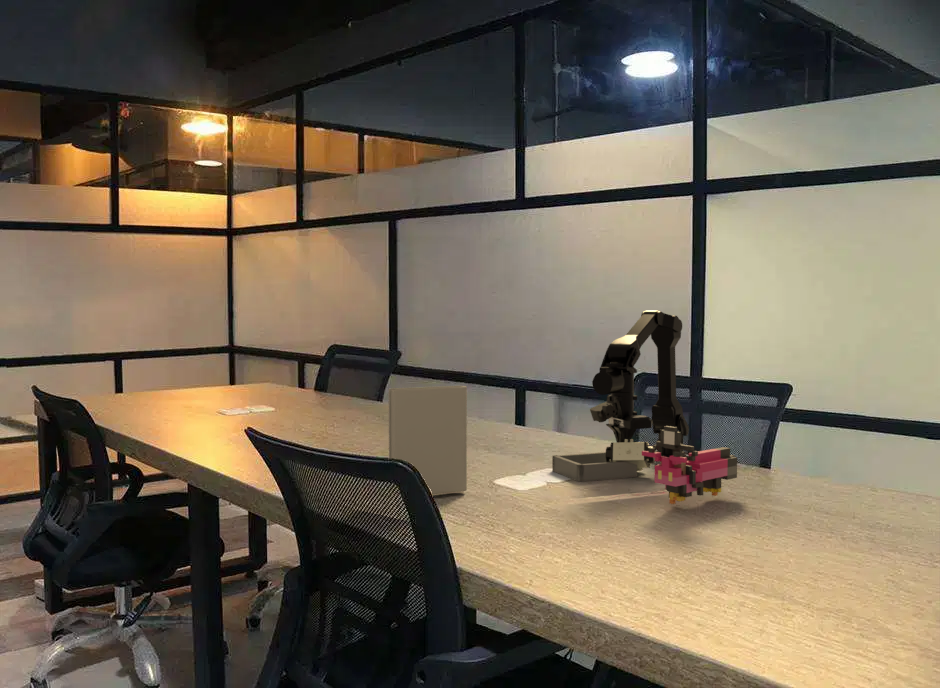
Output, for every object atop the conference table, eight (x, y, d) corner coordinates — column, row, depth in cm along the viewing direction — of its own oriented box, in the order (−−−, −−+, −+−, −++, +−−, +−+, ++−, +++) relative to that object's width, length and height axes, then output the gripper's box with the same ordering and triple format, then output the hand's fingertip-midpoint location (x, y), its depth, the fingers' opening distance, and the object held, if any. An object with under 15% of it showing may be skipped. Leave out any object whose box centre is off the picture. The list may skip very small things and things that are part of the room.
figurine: (641, 502, 182) (642, 425, 182) (710, 486, 198) (711, 416, 197) (683, 511, 174) (684, 431, 173) (752, 494, 189) (753, 421, 189)
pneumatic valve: (658, 473, 214) (651, 458, 204) (612, 473, 218) (603, 458, 208) (658, 452, 216) (651, 436, 206) (613, 453, 220) (604, 437, 210)
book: (394, 498, 185) (394, 390, 184) (388, 495, 189) (388, 388, 188) (469, 491, 193) (469, 386, 192) (462, 487, 197) (462, 385, 196)
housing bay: (607, 466, 223) (607, 451, 223) (637, 476, 209) (637, 461, 209) (552, 471, 217) (552, 455, 217) (579, 481, 204) (579, 465, 203)
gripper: (577, 389, 221) (576, 448, 222) (614, 396, 204) (613, 460, 204) (613, 387, 225) (613, 445, 226) (653, 394, 208) (652, 457, 208)
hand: (622, 452), depth 216 cm, fingers closed
